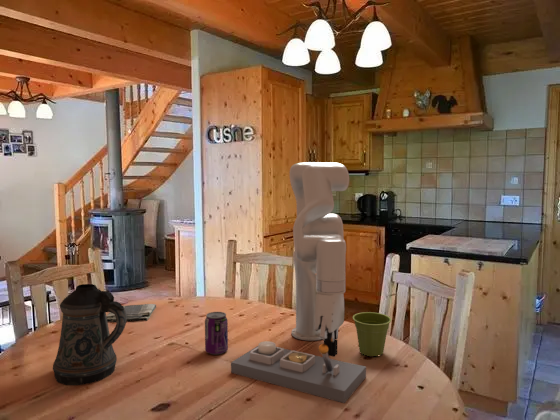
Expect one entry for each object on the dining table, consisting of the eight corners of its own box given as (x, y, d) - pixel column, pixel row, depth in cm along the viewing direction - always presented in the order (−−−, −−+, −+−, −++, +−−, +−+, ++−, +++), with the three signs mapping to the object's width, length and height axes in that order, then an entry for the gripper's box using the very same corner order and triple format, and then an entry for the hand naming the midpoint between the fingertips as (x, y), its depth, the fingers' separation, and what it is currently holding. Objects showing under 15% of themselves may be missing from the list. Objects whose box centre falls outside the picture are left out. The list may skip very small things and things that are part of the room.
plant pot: (344, 353, 137) (345, 318, 136) (365, 343, 145) (365, 309, 145) (378, 364, 129) (378, 327, 128) (397, 352, 137) (398, 317, 137)
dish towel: (113, 309, 185) (113, 302, 185) (157, 308, 187) (156, 301, 187) (100, 324, 166) (100, 316, 166) (148, 322, 168) (148, 314, 168)
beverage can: (223, 357, 134) (223, 318, 133) (201, 355, 136) (201, 317, 135) (230, 348, 141) (230, 311, 140) (210, 346, 143) (209, 310, 142)
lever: (327, 365, 118) (319, 340, 113) (336, 367, 117) (328, 342, 111) (324, 373, 116) (315, 348, 111) (333, 375, 115) (325, 350, 110)
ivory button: (264, 346, 130) (264, 340, 130) (278, 349, 127) (278, 343, 127) (255, 352, 126) (255, 345, 125) (269, 355, 123) (269, 349, 123)
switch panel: (261, 353, 137) (261, 337, 137) (365, 377, 120) (366, 359, 120) (231, 372, 123) (230, 355, 123) (344, 403, 106) (344, 383, 106)
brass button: (293, 357, 125) (294, 351, 125) (309, 361, 123) (309, 354, 122) (285, 364, 121) (285, 357, 121) (301, 368, 118) (301, 361, 118)
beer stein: (57, 365, 129) (53, 281, 127) (126, 355, 136) (124, 276, 134) (49, 390, 113) (45, 295, 111) (128, 378, 120) (125, 288, 118)
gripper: (328, 278, 122) (328, 343, 123) (305, 290, 109) (305, 362, 110) (354, 281, 118) (353, 347, 119) (333, 294, 105) (332, 368, 106)
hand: (330, 354), depth 115 cm, fingers closed
